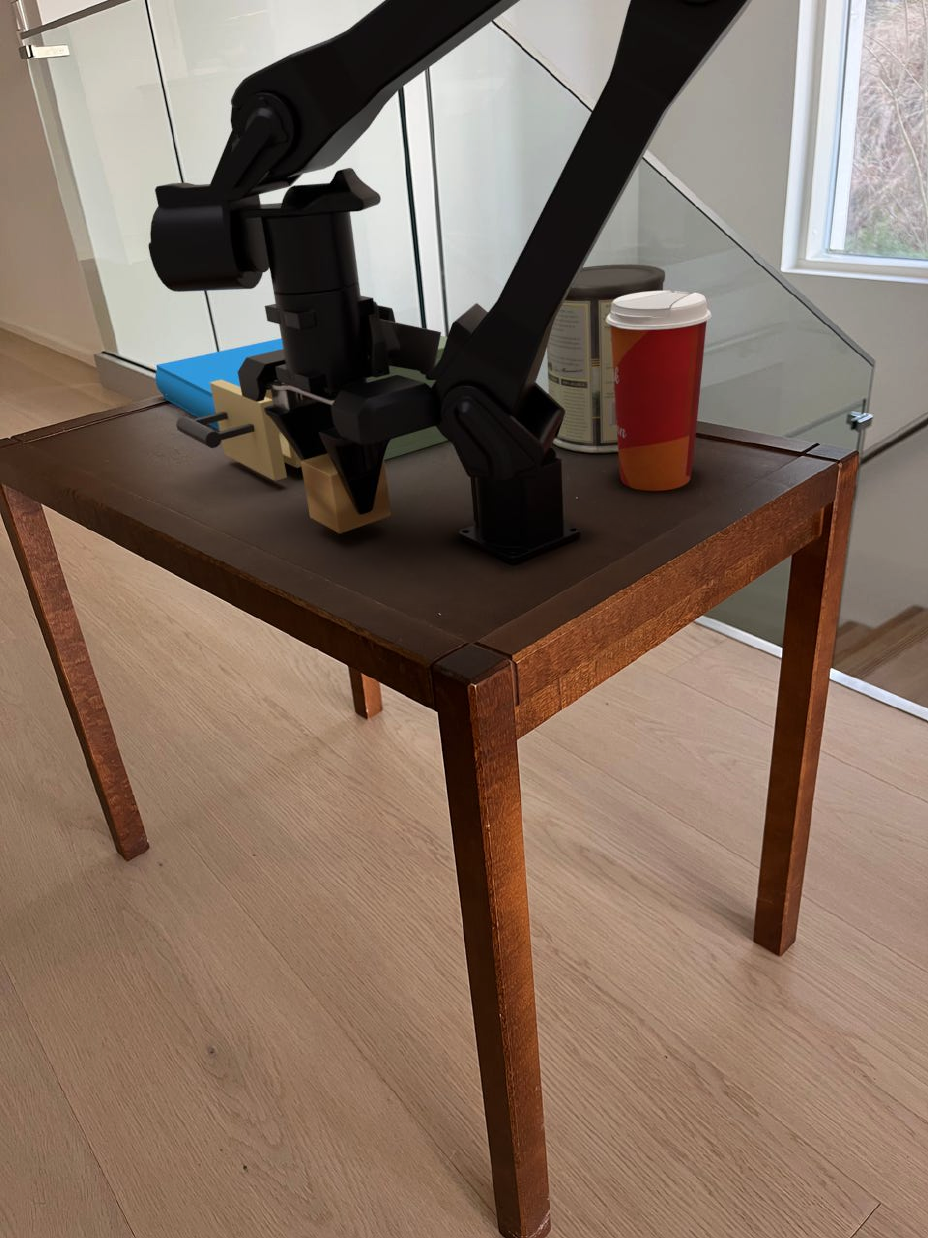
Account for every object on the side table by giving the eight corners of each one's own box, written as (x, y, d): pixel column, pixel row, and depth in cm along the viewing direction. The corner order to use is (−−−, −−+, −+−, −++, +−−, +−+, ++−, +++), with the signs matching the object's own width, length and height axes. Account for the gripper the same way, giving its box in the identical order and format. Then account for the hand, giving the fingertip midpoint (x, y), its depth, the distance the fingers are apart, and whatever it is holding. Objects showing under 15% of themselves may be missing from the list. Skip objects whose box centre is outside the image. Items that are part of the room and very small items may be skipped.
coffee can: (597, 411, 94) (595, 260, 87) (684, 429, 87) (690, 267, 80) (524, 440, 88) (516, 280, 81) (612, 462, 81) (611, 289, 74)
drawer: (225, 496, 79) (208, 416, 75) (178, 467, 86) (161, 393, 83) (397, 444, 87) (388, 369, 84) (340, 421, 94) (330, 353, 91)
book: (284, 337, 118) (385, 366, 99) (290, 372, 120) (391, 407, 101) (149, 365, 110) (232, 403, 91) (158, 402, 112) (241, 447, 93)
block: (391, 516, 71) (384, 458, 69) (339, 534, 69) (330, 475, 66) (360, 500, 74) (352, 445, 72) (309, 517, 72) (300, 460, 70)
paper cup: (644, 455, 82) (646, 285, 75) (723, 473, 76) (732, 292, 70) (586, 483, 77) (583, 305, 70) (666, 504, 72) (670, 314, 65)
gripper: (497, 277, 61) (511, 505, 68) (349, 257, 74) (374, 449, 82) (347, 310, 55) (380, 554, 63) (216, 281, 69) (256, 485, 76)
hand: (348, 504), depth 71 cm, fingers closed on block, 4 cm apart
